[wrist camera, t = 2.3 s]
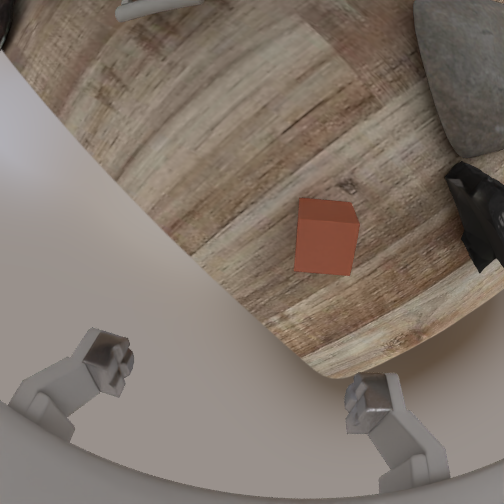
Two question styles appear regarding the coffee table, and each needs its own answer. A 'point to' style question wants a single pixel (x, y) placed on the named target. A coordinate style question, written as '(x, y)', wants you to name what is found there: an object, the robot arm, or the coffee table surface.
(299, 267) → the block
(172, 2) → the drawer
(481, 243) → the battery
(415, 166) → the coffee table surface
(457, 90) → the stone
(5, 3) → the stone
